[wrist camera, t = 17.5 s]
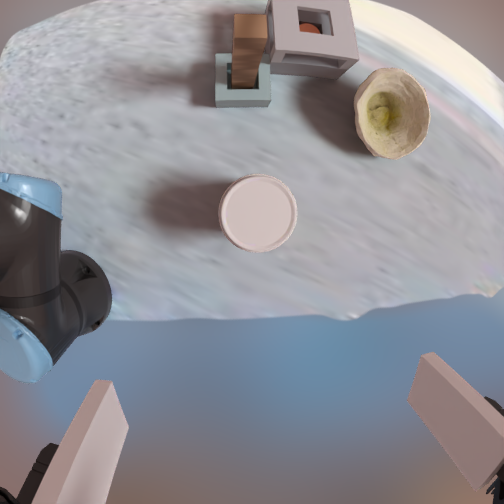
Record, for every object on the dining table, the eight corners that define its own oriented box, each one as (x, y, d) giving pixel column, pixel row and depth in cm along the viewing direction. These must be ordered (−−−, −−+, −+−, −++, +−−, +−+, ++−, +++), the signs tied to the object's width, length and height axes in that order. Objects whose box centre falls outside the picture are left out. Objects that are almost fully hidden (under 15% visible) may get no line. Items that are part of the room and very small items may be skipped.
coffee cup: (208, 202, 45) (201, 208, 33) (255, 164, 44) (265, 157, 32) (245, 248, 47) (252, 269, 35) (292, 211, 46) (314, 220, 34)
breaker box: (266, 73, 41) (275, 49, 31) (263, 17, 38) (271, -12, 29) (336, 79, 41) (359, 59, 32) (330, 24, 39) (348, -1, 30)
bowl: (342, 162, 45) (370, 157, 35) (330, 82, 42) (354, 61, 32) (414, 160, 46) (448, 158, 36) (402, 88, 42) (433, 74, 33)
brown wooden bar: (231, 91, 40) (234, 37, 22) (231, 73, 39) (234, 14, 22) (252, 91, 40) (267, 38, 23) (251, 73, 39) (266, 14, 22)
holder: (216, 107, 41) (215, 100, 37) (216, 63, 39) (215, 53, 36) (267, 107, 42) (271, 100, 38) (265, 63, 40) (269, 53, 36)
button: (291, 52, 39) (298, 39, 34) (289, 35, 39) (296, 22, 34) (312, 54, 40) (320, 42, 35) (310, 37, 39) (318, 24, 34)
